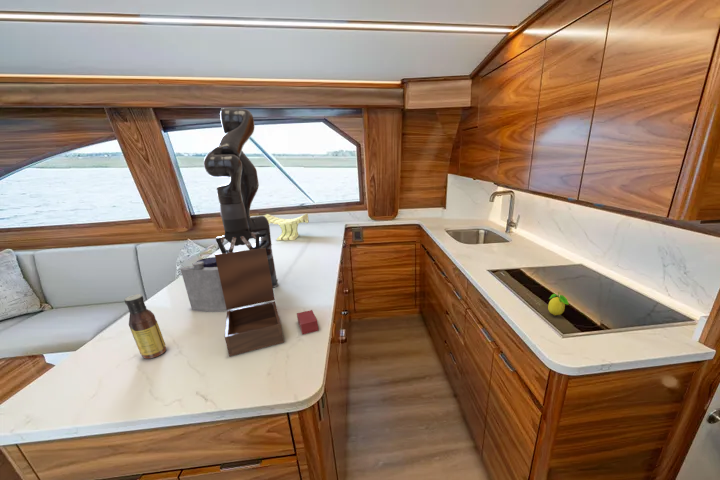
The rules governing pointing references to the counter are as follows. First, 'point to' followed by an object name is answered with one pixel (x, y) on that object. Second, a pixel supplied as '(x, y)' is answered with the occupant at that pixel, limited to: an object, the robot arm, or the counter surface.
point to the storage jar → (209, 262)
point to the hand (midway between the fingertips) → (243, 262)
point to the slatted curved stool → (288, 226)
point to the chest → (252, 328)
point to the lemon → (557, 304)
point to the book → (307, 322)
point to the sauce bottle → (144, 328)
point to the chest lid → (245, 277)
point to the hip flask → (203, 287)
